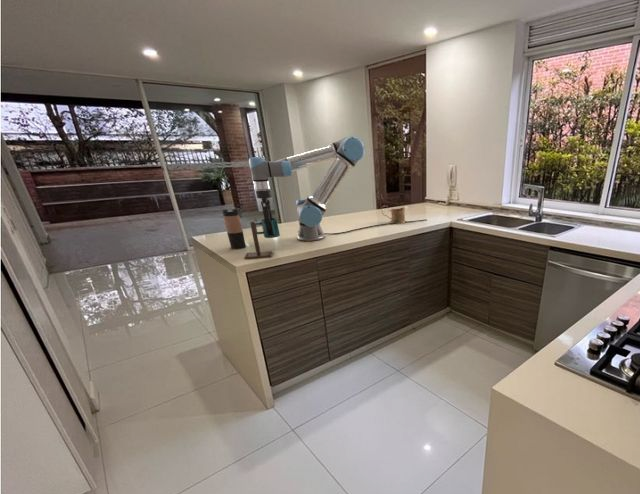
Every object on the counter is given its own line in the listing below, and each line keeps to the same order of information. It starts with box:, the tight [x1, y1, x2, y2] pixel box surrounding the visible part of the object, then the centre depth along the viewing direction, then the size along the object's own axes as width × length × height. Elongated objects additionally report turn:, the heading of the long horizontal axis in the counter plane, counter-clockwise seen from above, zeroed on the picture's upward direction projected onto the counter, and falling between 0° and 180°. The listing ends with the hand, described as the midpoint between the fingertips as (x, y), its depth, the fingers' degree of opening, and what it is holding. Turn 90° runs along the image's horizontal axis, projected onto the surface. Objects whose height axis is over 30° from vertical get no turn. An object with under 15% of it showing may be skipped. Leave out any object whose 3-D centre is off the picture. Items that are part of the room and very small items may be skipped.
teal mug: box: [255, 217, 281, 239], centre depth 182 cm, size 12×8×9 cm, turn 107°
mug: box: [380, 205, 407, 225], centre depth 246 cm, size 12×18×12 cm, turn 96°
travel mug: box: [222, 208, 246, 250], centre depth 183 cm, size 8×8×20 cm
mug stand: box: [244, 218, 274, 260], centre depth 171 cm, size 12×14×18 cm
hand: (271, 233), depth 184 cm, fingers closed on teal mug, 8 cm apart
